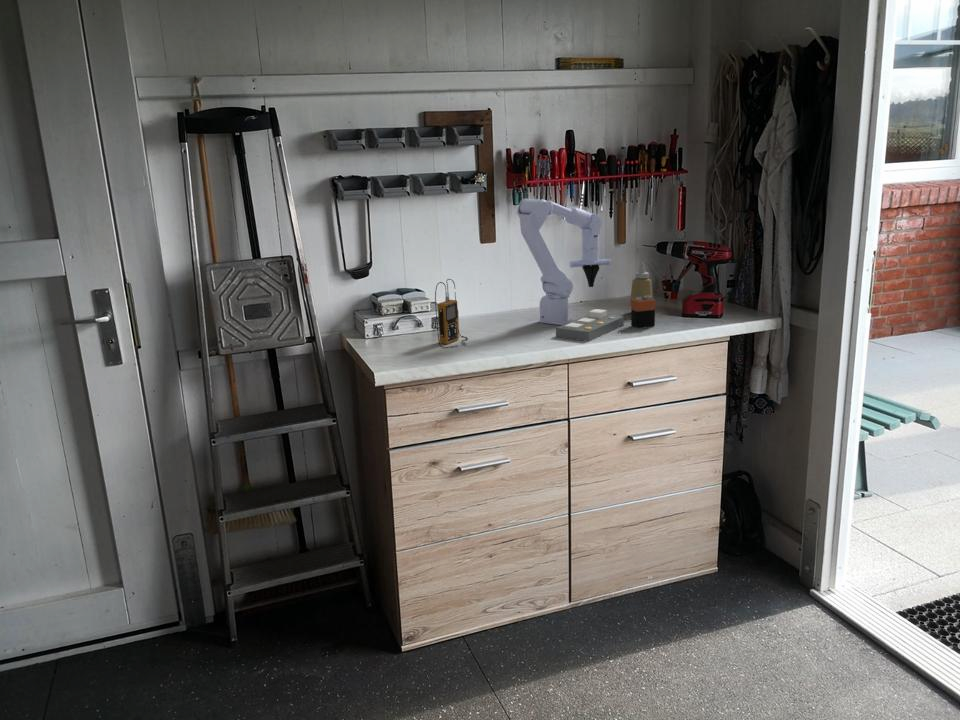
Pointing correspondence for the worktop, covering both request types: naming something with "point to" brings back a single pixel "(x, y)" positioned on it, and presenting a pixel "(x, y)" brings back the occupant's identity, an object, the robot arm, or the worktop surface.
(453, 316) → the multimeter
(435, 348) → the worktop surface
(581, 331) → the button panel
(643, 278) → the squeeze bottle
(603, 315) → the button
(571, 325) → the button
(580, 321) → the button
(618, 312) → the worktop surface
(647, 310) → the battery
